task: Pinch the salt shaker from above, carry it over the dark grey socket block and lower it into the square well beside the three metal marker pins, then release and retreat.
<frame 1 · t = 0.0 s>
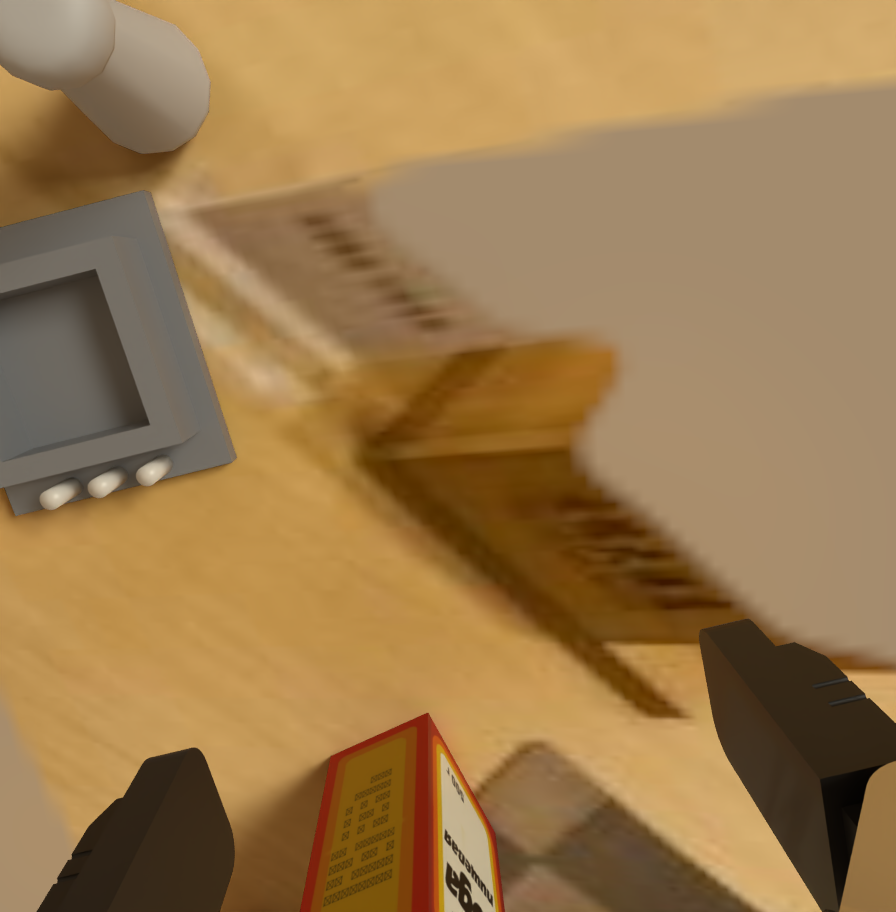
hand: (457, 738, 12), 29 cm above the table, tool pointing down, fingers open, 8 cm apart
socket: (85, 358, 39), on the table
baking soda box: (414, 793, 46), on the table
salt shaker: (164, 98, 36), on the table
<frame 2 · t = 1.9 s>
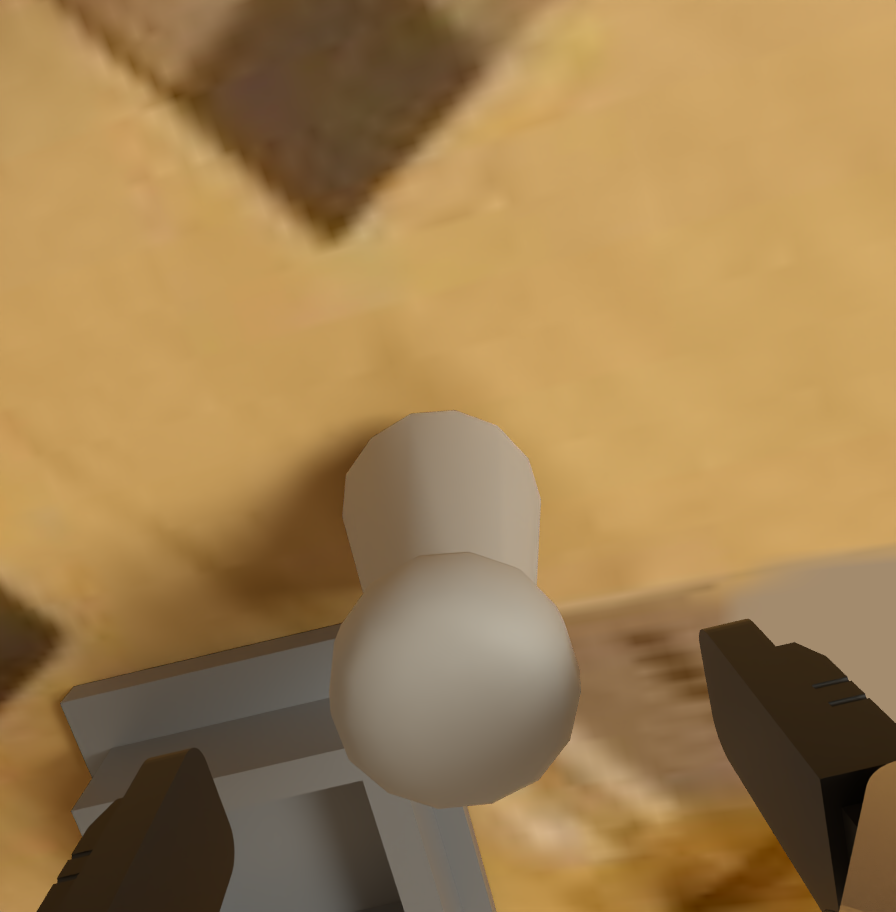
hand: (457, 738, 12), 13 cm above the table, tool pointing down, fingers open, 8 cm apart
socket: (299, 814, 27), on the table
salt shaker: (440, 482, 25), on the table
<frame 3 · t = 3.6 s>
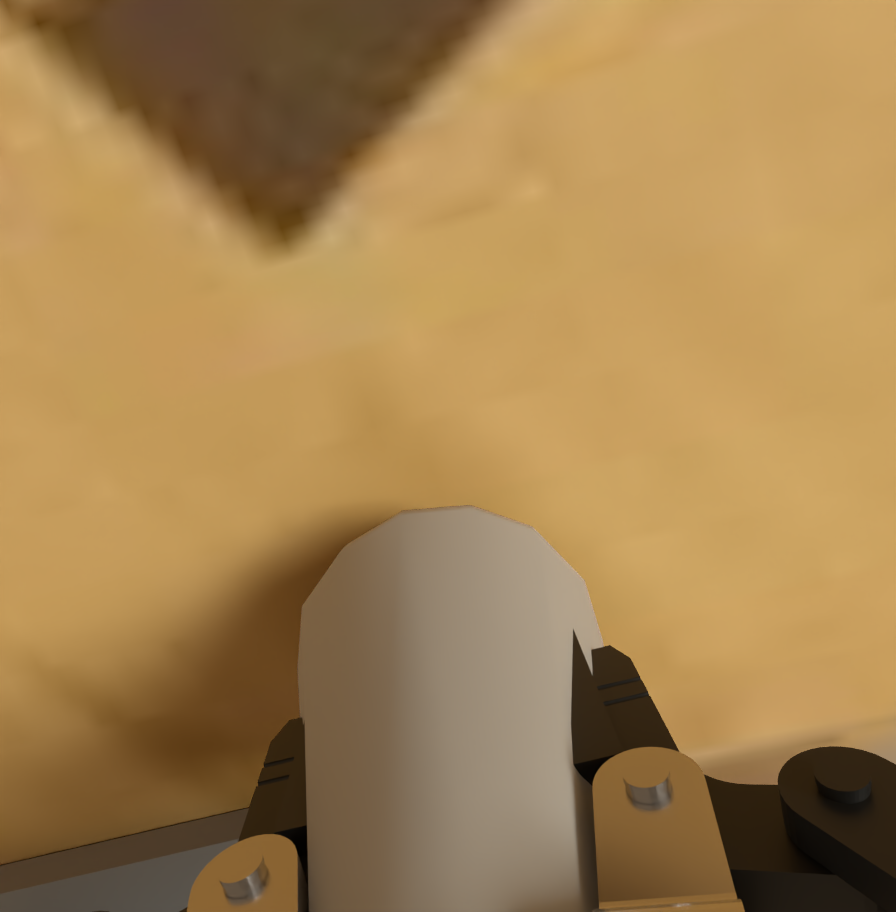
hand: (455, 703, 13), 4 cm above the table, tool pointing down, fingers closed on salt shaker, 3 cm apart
salt shaker: (446, 596, 17), on the table, touching gripper
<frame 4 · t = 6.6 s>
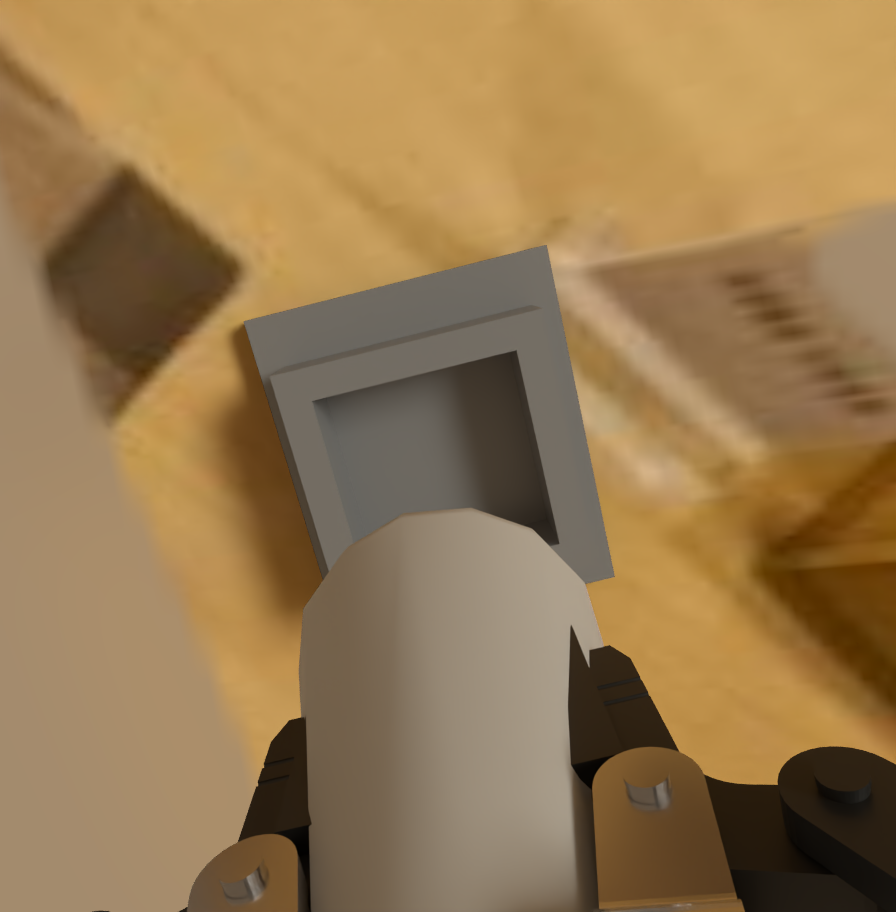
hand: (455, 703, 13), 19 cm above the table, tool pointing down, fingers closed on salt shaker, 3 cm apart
socket: (437, 449, 31), on the table
salt shaker: (447, 598, 17), point 15 cm above the table, touching gripper
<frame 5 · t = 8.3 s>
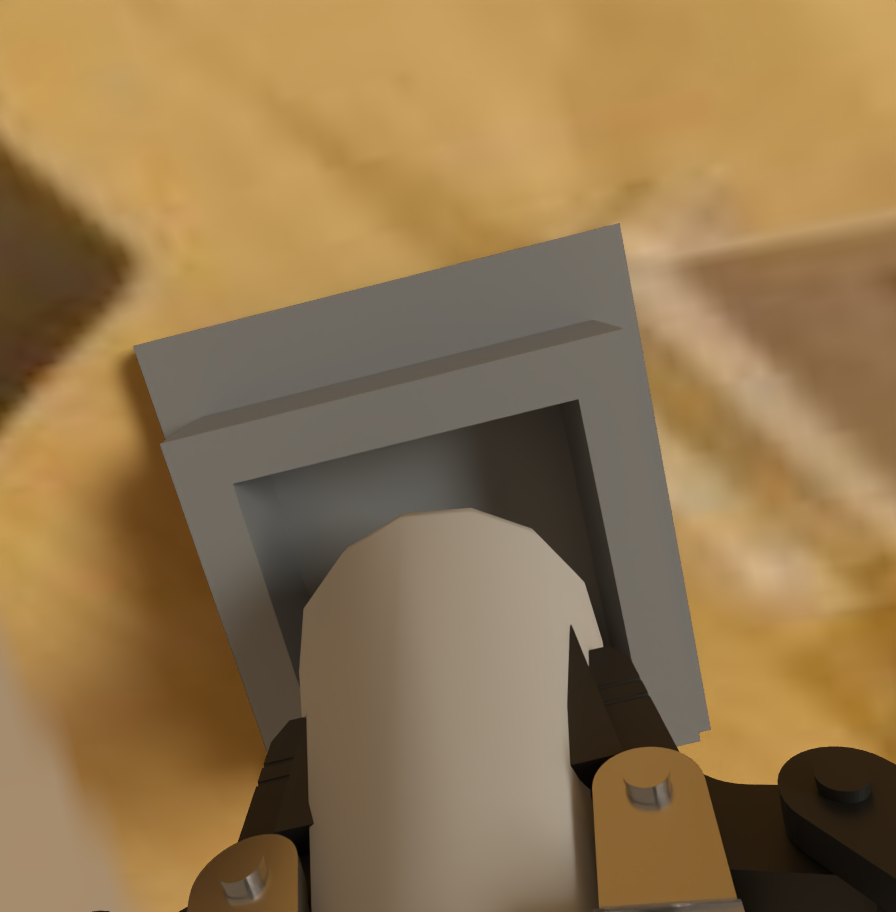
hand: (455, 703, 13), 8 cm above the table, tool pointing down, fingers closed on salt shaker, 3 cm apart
socket: (443, 539, 21), on the table
salt shaker: (447, 598, 17), point 4 cm above the table, touching gripper
when the fingers open (6 cm above the table, at t = 9.4 s): salt shaker drops 1 cm, resting on socket.
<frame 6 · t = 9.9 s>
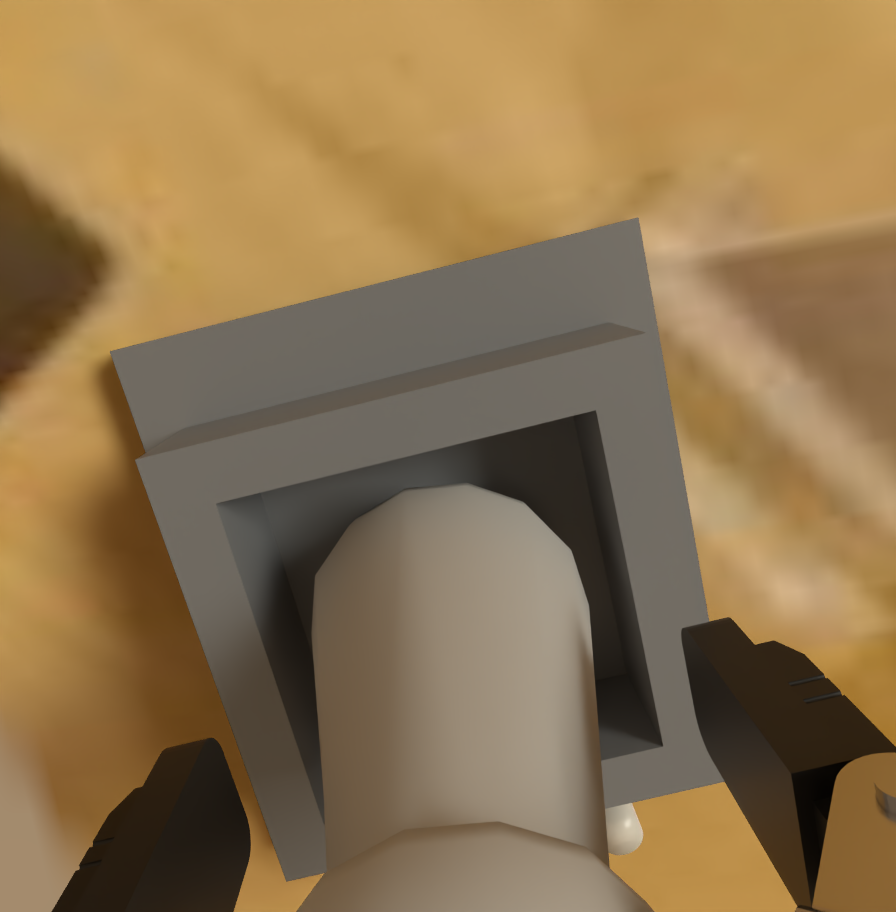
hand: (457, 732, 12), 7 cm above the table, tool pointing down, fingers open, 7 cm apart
socket: (446, 558, 19), on the table
salt shaker: (447, 570, 18), point 1 cm above the table, touching socket
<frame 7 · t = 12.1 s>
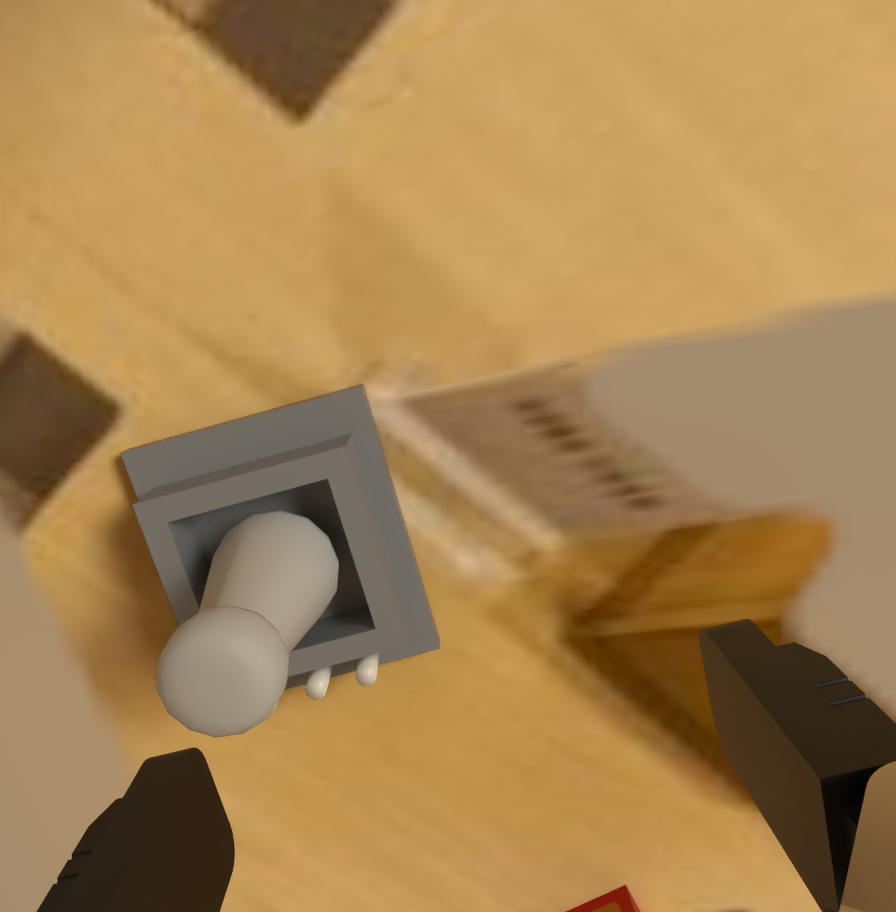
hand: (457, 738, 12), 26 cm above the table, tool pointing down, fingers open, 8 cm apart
socket: (289, 547, 38), on the table
salt shaker: (286, 552, 37), point 1 cm above the table, touching socket
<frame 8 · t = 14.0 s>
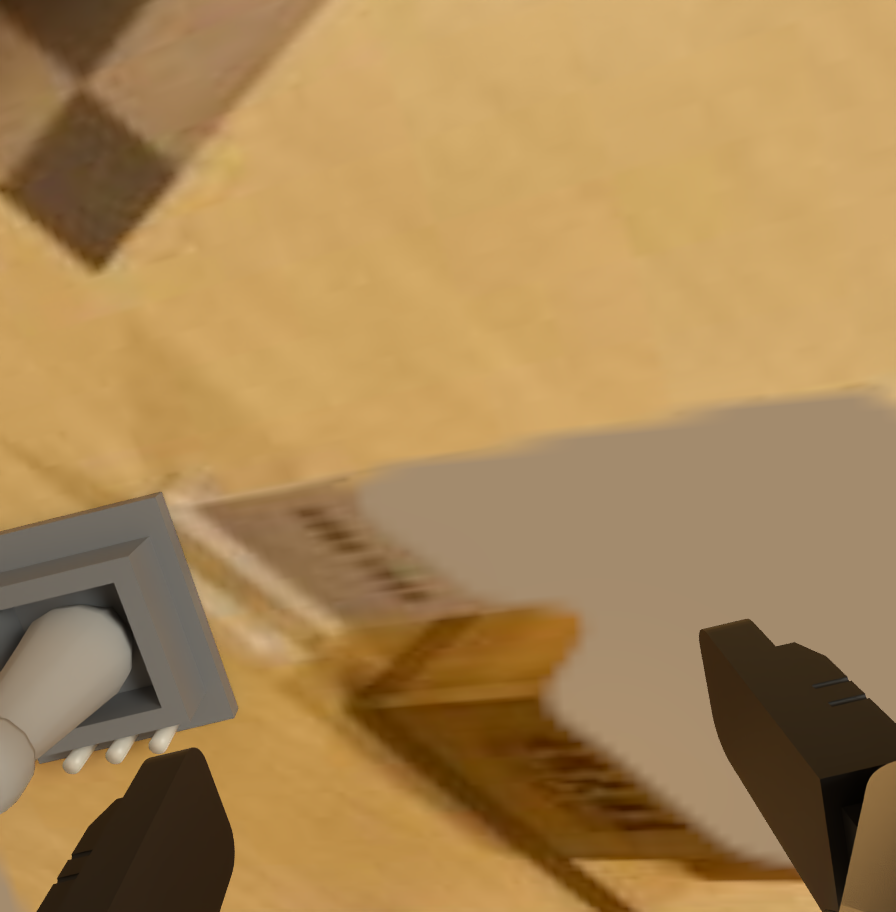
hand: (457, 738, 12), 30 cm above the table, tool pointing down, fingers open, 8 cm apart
socket: (102, 628, 44), on the table
salt shaker: (96, 634, 43), point 1 cm above the table, touching socket
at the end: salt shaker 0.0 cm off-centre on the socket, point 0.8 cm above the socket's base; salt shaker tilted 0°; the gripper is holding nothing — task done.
